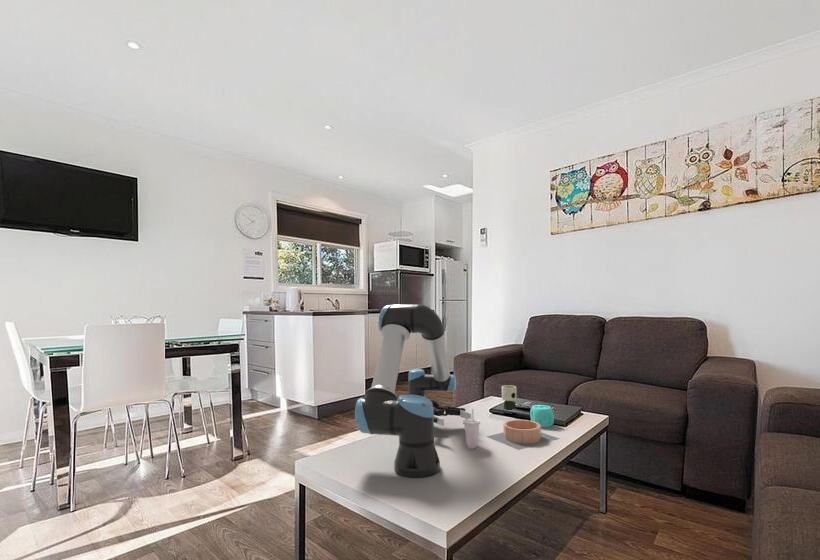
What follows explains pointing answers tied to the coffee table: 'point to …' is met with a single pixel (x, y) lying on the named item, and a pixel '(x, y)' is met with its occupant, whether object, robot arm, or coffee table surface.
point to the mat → (519, 446)
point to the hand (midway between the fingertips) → (457, 419)
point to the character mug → (509, 396)
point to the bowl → (522, 431)
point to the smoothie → (471, 431)
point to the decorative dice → (542, 415)
